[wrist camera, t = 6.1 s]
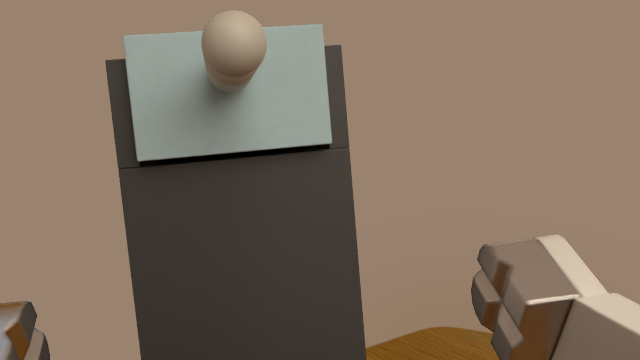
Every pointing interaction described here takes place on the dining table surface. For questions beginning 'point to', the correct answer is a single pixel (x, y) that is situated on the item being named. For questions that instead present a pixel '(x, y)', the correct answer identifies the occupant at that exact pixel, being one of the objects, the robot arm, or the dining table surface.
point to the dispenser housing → (243, 244)
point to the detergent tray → (225, 116)
